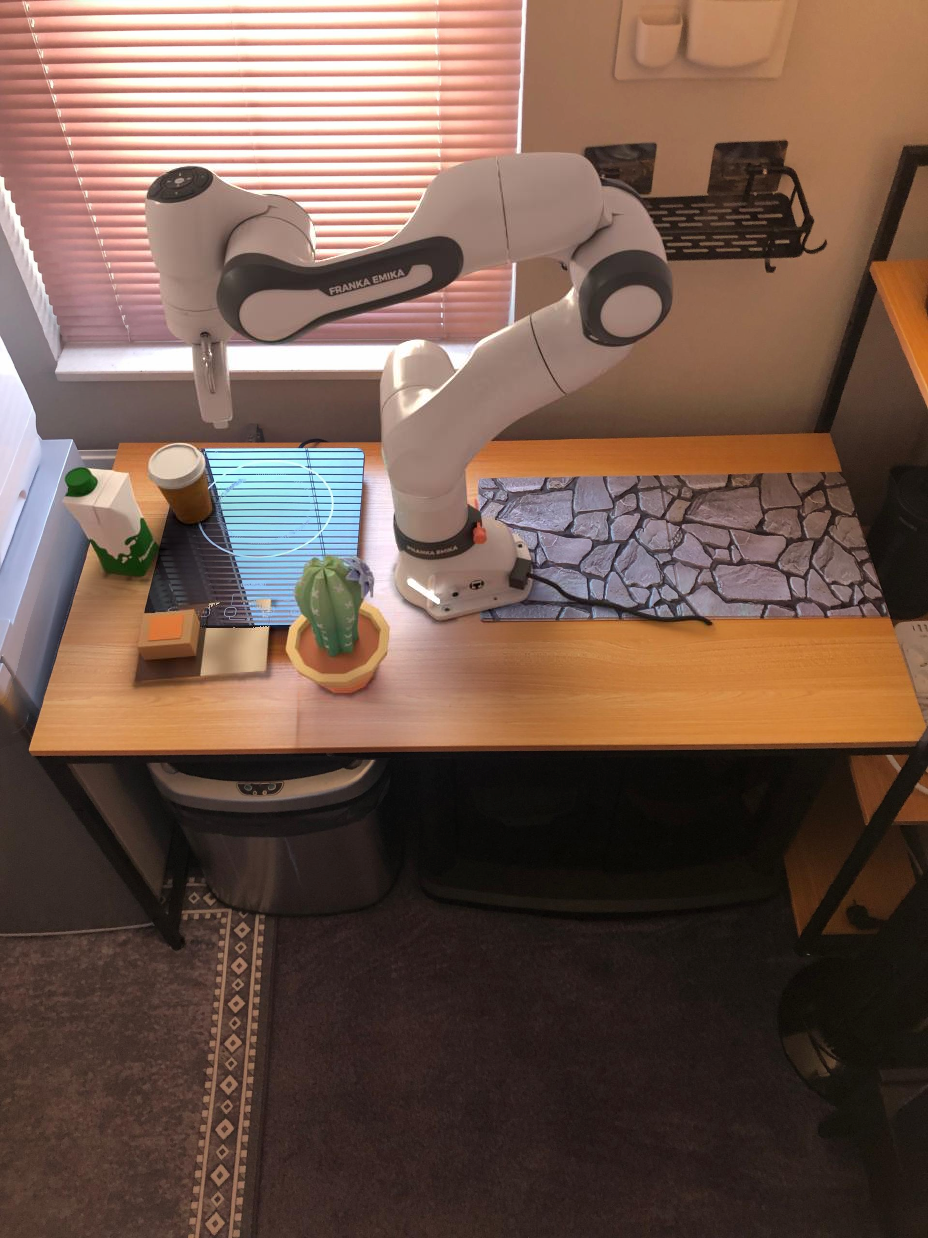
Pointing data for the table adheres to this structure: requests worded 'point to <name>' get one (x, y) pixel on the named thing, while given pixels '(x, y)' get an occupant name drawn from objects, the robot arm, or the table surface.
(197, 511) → the disposable coffee cup
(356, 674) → the potted cactus
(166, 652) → the coffee packet
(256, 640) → the board
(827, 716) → the table surface
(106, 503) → the milk carton
